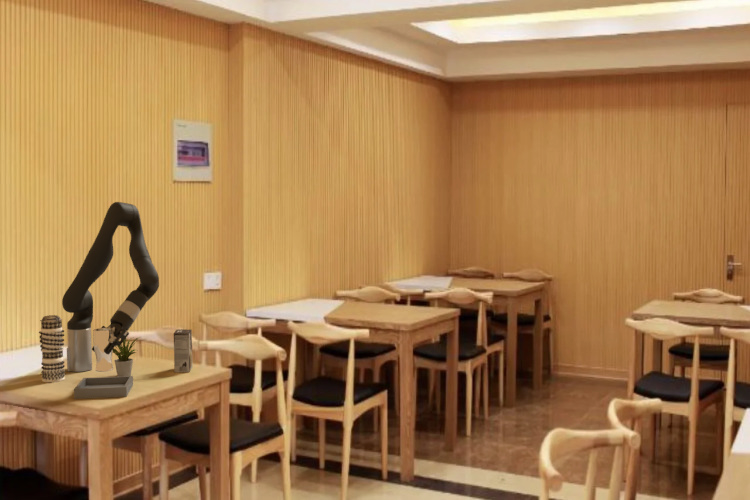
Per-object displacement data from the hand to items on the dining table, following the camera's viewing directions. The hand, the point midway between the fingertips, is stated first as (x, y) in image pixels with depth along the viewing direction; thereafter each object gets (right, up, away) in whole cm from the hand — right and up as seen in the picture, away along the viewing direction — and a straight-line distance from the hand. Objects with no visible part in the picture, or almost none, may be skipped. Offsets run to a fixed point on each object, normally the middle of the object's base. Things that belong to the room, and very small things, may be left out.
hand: (100, 352), depth 308 cm
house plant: (+1, -13, +31) cm, 33 cm away
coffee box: (+22, -12, +39) cm, 46 cm away
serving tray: (+1, -15, +2) cm, 15 cm away
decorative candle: (-25, -14, +23) cm, 37 cm away
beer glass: (+1, -7, +2) cm, 7 cm away
